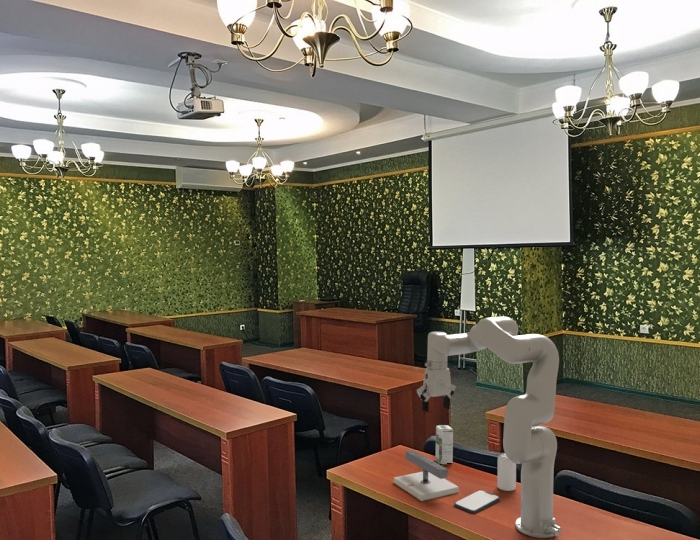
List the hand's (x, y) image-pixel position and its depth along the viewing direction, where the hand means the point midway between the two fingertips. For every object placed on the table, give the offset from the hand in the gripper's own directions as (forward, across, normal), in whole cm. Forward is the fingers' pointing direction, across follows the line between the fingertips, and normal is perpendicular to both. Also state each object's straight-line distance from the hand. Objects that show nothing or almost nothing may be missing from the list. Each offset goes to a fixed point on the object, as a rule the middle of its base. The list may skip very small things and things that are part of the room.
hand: (435, 409), depth 213 cm
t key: (+24, -8, -5) cm, 26 cm away
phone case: (+26, 0, -24) cm, 36 cm away
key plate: (+26, -8, -5) cm, 28 cm away
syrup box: (+27, +14, +13) cm, 33 cm away
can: (+26, +18, -19) cm, 37 cm away
